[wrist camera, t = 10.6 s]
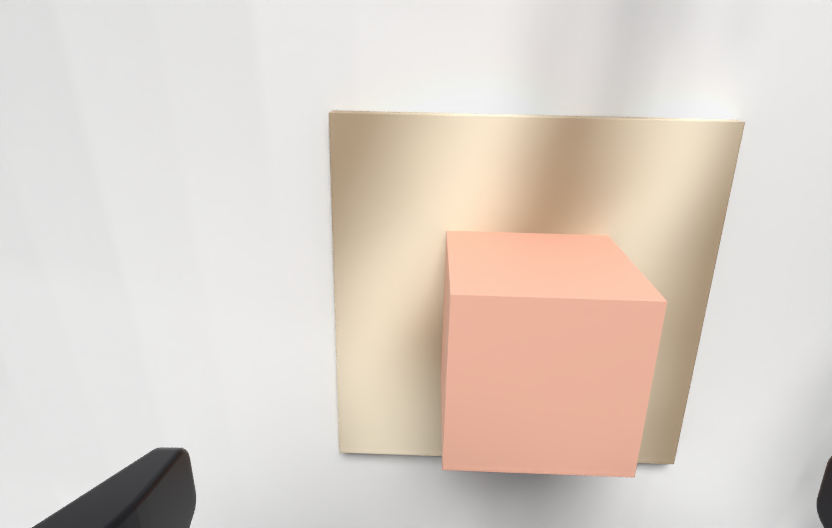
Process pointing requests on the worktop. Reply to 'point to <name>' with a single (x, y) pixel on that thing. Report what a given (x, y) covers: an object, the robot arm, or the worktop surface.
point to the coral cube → (545, 354)
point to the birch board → (517, 213)
